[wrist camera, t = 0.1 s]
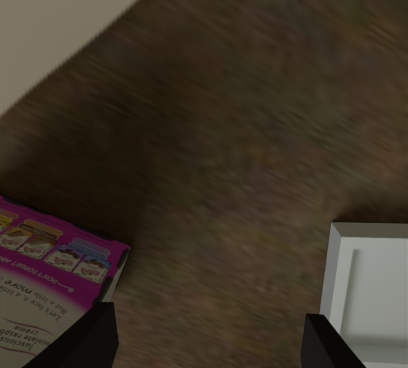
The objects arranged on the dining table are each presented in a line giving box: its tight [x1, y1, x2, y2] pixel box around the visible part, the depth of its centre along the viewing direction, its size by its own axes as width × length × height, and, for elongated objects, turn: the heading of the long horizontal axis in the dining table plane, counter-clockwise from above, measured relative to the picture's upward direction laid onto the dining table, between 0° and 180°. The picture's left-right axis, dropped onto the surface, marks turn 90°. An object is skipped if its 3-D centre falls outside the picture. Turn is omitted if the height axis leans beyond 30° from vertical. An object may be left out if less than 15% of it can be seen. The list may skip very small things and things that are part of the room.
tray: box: [320, 222, 408, 368], centre depth 21 cm, size 11×11×2 cm
